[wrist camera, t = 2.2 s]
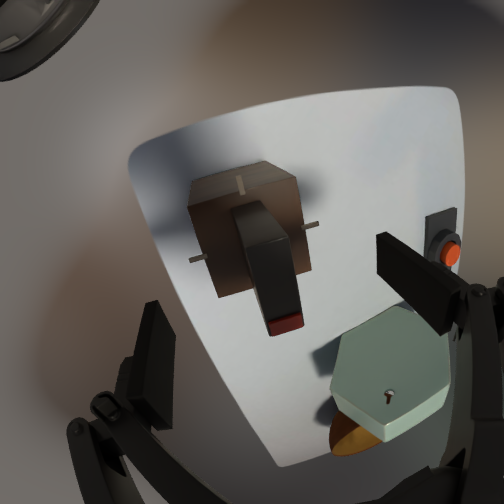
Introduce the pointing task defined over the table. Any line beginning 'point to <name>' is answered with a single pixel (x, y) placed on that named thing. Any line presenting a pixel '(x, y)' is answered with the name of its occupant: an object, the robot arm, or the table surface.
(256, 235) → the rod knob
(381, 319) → the sage hexagonal prism
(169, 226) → the table surface
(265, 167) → the pegged wooden cube
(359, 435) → the bowl
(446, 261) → the button
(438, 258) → the button box
